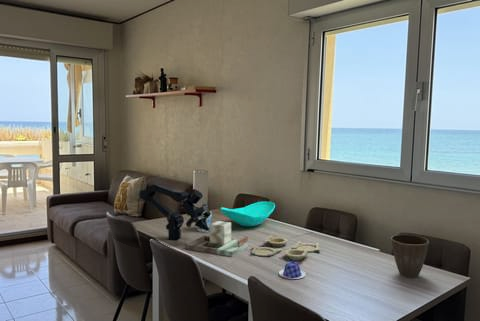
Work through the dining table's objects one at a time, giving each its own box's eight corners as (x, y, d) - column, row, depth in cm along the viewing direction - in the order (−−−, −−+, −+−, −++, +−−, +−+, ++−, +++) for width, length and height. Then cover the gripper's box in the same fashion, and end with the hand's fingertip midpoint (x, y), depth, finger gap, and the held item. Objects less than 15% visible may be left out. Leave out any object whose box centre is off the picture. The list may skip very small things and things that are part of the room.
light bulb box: (207, 232, 235) (207, 215, 234) (197, 231, 237) (196, 214, 236) (212, 227, 246) (212, 211, 245) (202, 227, 247) (202, 211, 246)
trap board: (186, 248, 203) (185, 238, 203) (204, 239, 220) (204, 230, 220) (232, 256, 191) (232, 245, 190) (248, 245, 208) (248, 236, 207)
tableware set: (325, 247, 205) (325, 240, 205) (312, 265, 179) (312, 257, 179) (265, 239, 220) (265, 233, 220) (244, 255, 194) (244, 247, 193)
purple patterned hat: (287, 267, 176) (287, 256, 175) (311, 274, 168) (311, 262, 168) (273, 275, 166) (273, 264, 166) (297, 282, 159) (297, 270, 158)
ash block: (209, 242, 207) (209, 224, 206) (217, 238, 214) (216, 220, 213) (224, 244, 203) (224, 225, 202) (231, 240, 210) (231, 222, 209)
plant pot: (409, 284, 156) (411, 246, 154) (382, 271, 169) (383, 236, 168) (435, 278, 162) (437, 241, 160) (407, 266, 175) (408, 233, 174)
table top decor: (259, 217, 274) (259, 199, 273) (284, 225, 251) (285, 205, 250) (212, 225, 252) (211, 205, 250) (235, 235, 229) (235, 213, 228)
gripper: (190, 203, 204) (208, 225, 200) (208, 197, 221) (225, 217, 217) (178, 216, 208) (195, 238, 204) (196, 209, 225) (213, 229, 221)
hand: (208, 230), depth 211 cm, fingers closed
